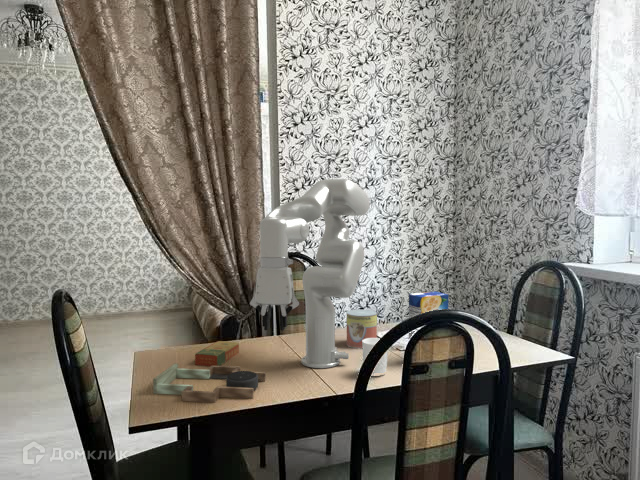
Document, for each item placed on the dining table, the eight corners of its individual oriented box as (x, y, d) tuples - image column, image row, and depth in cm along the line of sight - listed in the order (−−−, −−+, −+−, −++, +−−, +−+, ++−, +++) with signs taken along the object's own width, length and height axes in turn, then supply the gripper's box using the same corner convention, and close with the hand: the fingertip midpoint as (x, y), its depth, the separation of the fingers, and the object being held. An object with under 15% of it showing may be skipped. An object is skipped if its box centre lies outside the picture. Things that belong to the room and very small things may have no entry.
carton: (239, 354, 175) (239, 342, 175) (217, 368, 160) (217, 355, 160) (217, 352, 178) (217, 340, 177) (194, 365, 162) (194, 352, 162)
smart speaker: (222, 394, 137) (222, 380, 136) (230, 383, 146) (230, 369, 145) (254, 395, 136) (254, 380, 136) (260, 383, 145) (260, 370, 145)
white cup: (381, 379, 148) (381, 345, 147) (357, 374, 152) (357, 342, 152) (392, 371, 155) (392, 339, 154) (369, 367, 159) (369, 336, 158)
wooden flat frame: (269, 376, 151) (269, 363, 151) (248, 404, 129) (248, 389, 129) (180, 372, 155) (180, 359, 155) (146, 398, 133) (145, 384, 133)
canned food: (341, 346, 183) (341, 314, 182) (352, 339, 193) (352, 308, 193) (371, 350, 179) (371, 316, 178) (380, 342, 189) (380, 310, 188)
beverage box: (408, 359, 168) (408, 293, 166) (434, 354, 172) (435, 291, 171) (420, 364, 161) (421, 297, 160) (447, 360, 166) (448, 294, 165)
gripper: (306, 262, 140) (306, 327, 141) (248, 261, 142) (249, 325, 143) (301, 265, 132) (302, 333, 134) (240, 264, 135) (241, 331, 136)
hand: (274, 328), depth 138 cm, fingers open, 3 cm apart
